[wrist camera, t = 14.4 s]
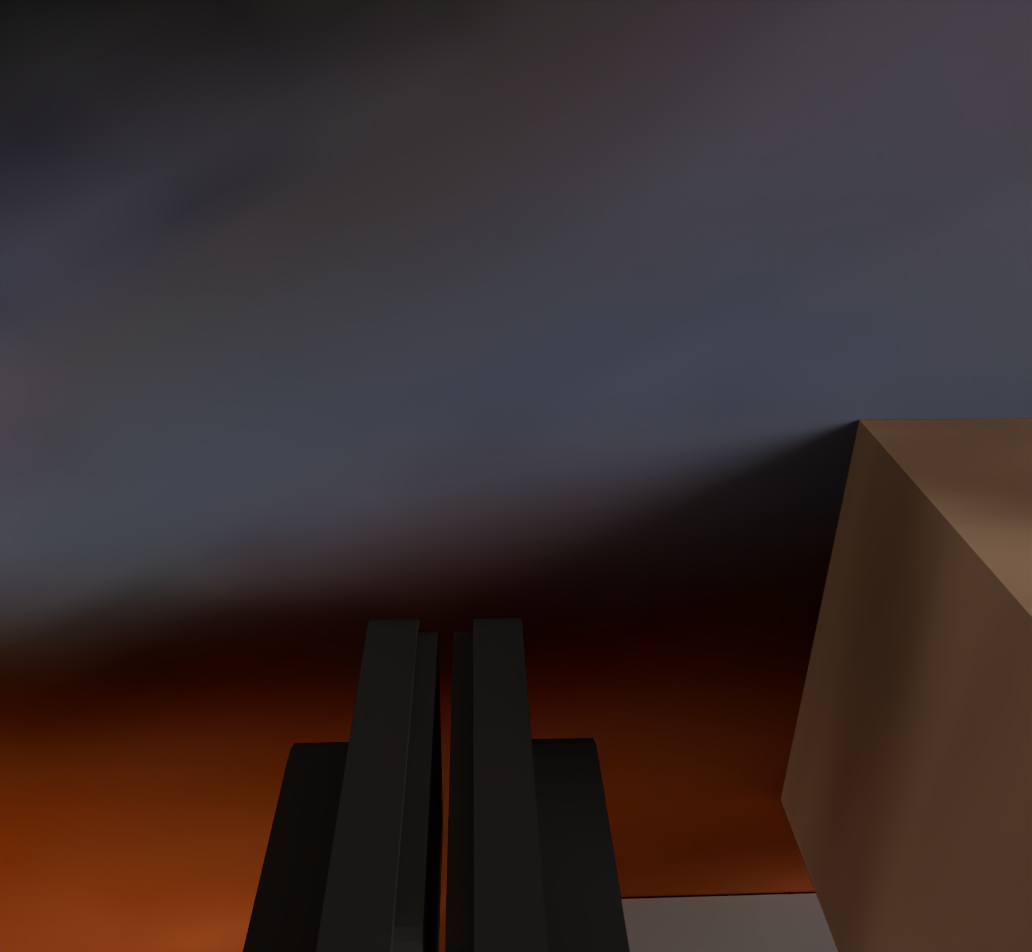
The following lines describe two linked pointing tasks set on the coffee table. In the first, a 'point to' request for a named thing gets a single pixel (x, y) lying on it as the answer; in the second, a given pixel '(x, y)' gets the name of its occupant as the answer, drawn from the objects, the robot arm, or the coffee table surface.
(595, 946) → the robot arm
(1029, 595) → the walnut block
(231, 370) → the coffee table surface
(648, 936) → the bore block
